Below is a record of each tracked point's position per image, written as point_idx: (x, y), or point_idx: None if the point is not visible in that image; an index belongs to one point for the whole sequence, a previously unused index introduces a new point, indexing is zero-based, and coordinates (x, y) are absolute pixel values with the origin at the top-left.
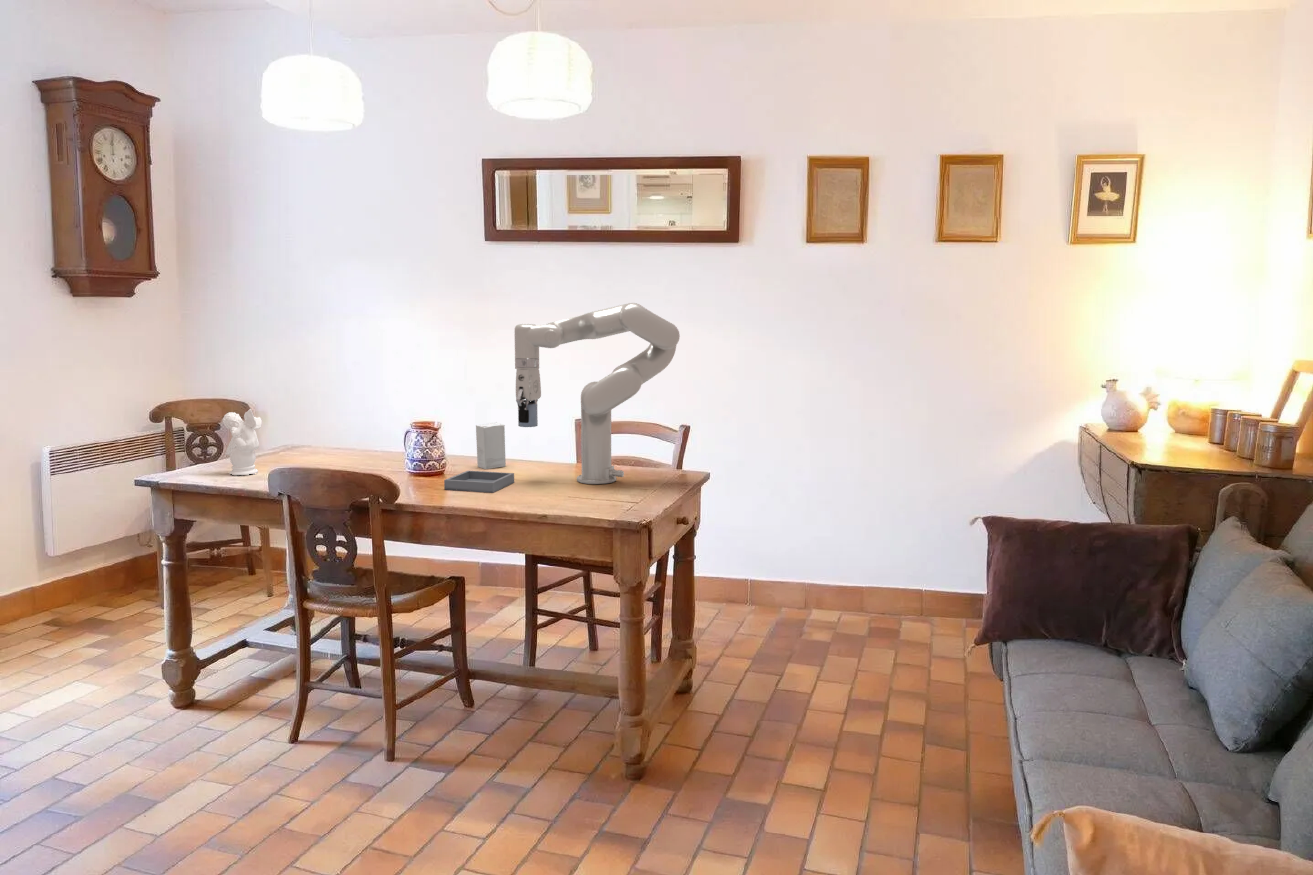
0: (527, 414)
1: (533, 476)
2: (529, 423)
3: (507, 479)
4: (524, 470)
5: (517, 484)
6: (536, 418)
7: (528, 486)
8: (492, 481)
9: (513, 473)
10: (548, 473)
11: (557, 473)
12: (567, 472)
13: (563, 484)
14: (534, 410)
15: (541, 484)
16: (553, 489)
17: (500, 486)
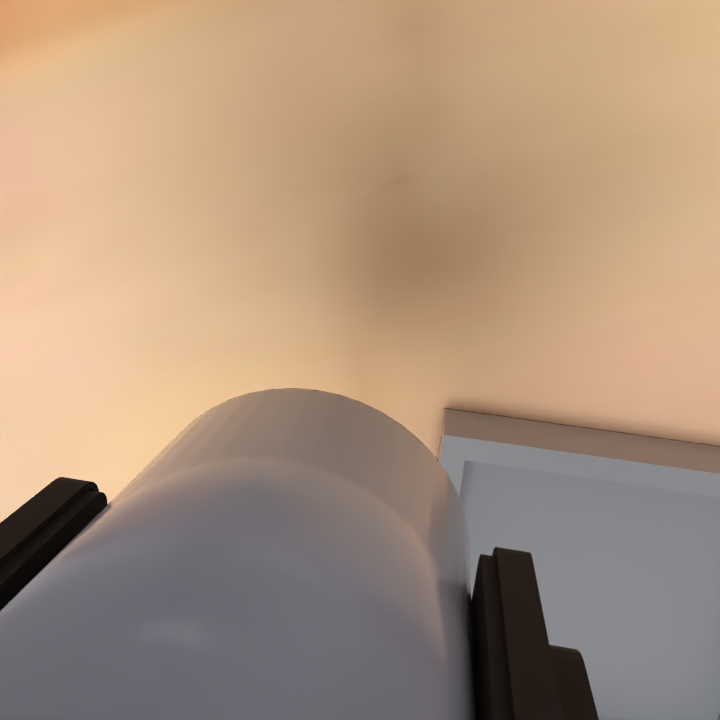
0: (547, 688)
1: (213, 334)
2: (456, 521)
3: (570, 442)
4: (42, 443)
5: (505, 371)
6: (293, 454)
7: (567, 275)
8: (496, 542)
9: (457, 436)
10: (85, 258)
11: (65, 192)
12: (8, 126)
13: (456, 17)
14: (329, 607)
15: (481, 198)
16: (667, 42)
17: (691, 449)
